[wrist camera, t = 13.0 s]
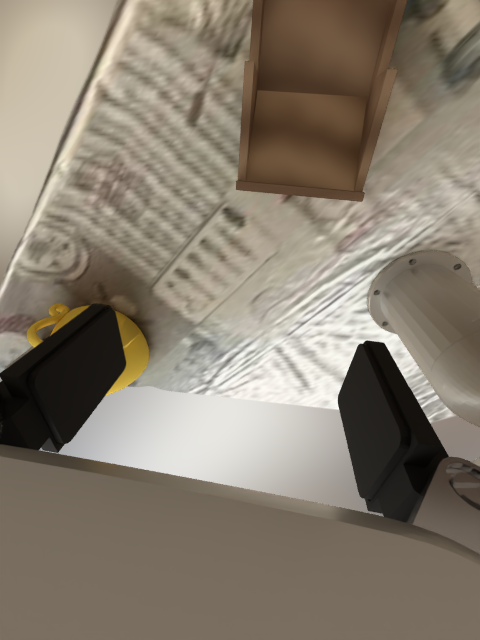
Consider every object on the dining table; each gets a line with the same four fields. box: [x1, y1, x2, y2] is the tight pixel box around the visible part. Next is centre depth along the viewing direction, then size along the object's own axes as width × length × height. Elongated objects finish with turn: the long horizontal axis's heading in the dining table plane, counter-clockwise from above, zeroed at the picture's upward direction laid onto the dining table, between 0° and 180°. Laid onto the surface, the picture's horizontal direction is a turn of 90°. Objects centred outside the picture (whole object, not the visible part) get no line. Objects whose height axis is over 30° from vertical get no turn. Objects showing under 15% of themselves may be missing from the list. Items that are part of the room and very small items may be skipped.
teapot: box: [27, 303, 149, 396], centre depth 43 cm, size 20×19×13 cm
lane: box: [236, 0, 407, 202], centre depth 22 cm, size 27×13×7 cm, turn 176°
